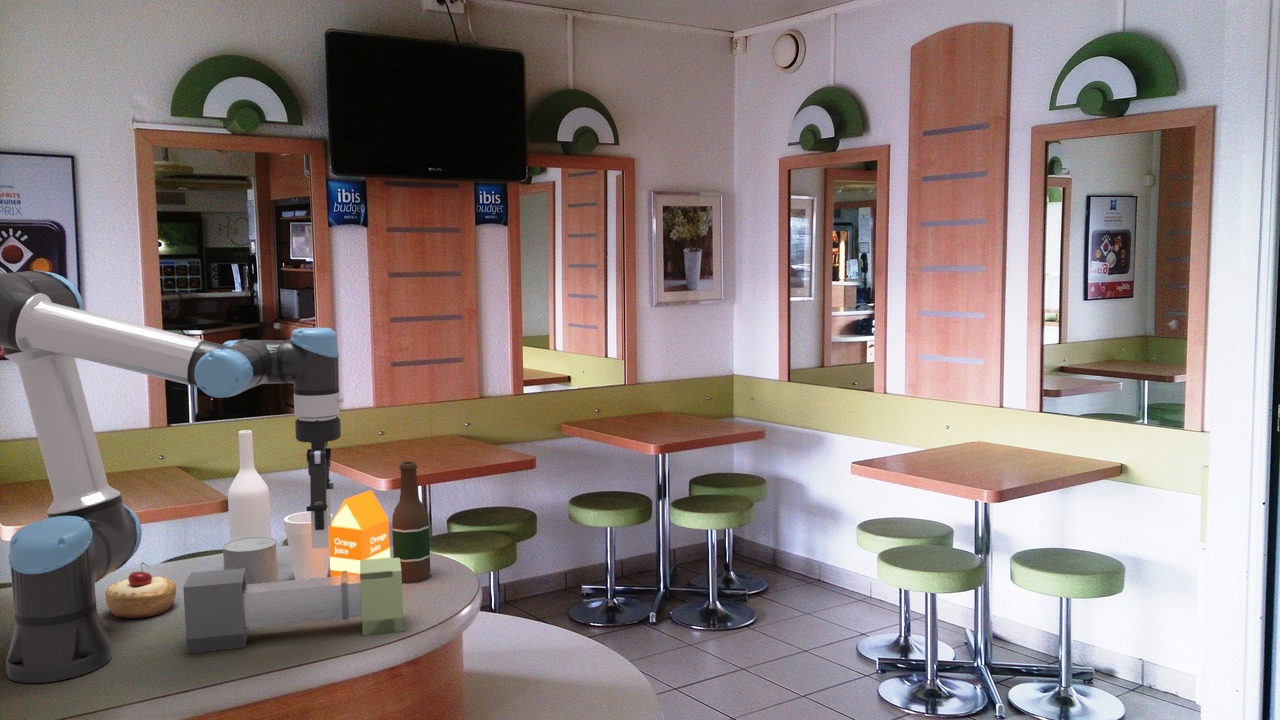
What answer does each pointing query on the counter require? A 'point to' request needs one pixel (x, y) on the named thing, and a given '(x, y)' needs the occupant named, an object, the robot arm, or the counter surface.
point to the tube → (301, 600)
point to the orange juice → (358, 534)
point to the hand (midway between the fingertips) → (322, 536)
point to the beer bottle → (411, 529)
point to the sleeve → (214, 610)
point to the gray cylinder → (252, 558)
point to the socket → (381, 595)
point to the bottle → (248, 496)
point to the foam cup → (305, 548)
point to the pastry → (140, 595)
